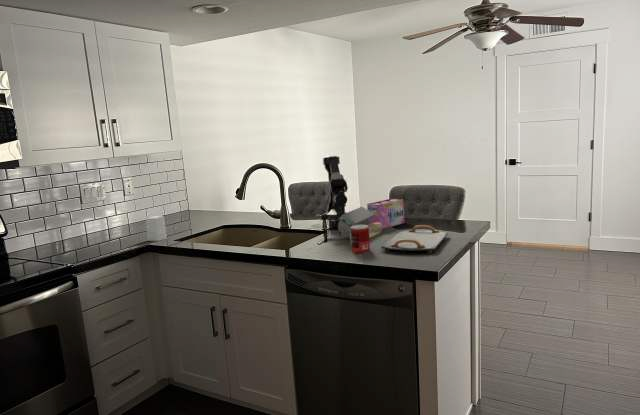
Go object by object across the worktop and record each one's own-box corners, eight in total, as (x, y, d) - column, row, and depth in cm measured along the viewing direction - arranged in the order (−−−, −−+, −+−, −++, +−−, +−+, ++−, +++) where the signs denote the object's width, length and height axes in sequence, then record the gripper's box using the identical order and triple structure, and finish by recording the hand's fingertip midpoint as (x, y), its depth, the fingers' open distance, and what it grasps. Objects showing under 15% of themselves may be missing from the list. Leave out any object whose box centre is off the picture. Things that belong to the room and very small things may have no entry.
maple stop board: (350, 244, 222) (349, 233, 221) (376, 231, 247) (375, 222, 246) (356, 244, 220) (355, 234, 219) (381, 231, 246) (381, 222, 245)
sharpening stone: (353, 224, 250) (361, 206, 247) (365, 232, 248) (374, 214, 244) (332, 234, 229) (342, 214, 225) (346, 242, 226) (355, 223, 222)
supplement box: (167, 238, 268) (164, 215, 266) (157, 241, 261) (155, 218, 260) (157, 237, 271) (154, 215, 269) (147, 240, 264) (144, 218, 263)
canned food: (371, 249, 209) (370, 224, 208) (367, 253, 202) (366, 228, 200) (354, 249, 212) (353, 224, 210) (349, 253, 204) (348, 228, 203)
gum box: (394, 221, 273) (393, 197, 271) (406, 222, 267) (405, 198, 265) (367, 228, 257) (366, 203, 255) (379, 230, 251) (378, 204, 249)
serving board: (434, 257, 191) (433, 242, 190) (378, 255, 201) (377, 240, 200) (449, 236, 226) (449, 223, 225) (401, 235, 235) (401, 223, 235)
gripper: (314, 205, 236) (316, 236, 239) (348, 205, 227) (349, 238, 229) (325, 201, 246) (327, 231, 248) (358, 202, 236) (360, 233, 239)
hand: (340, 233), depth 241 cm, fingers closed, pressing on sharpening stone
